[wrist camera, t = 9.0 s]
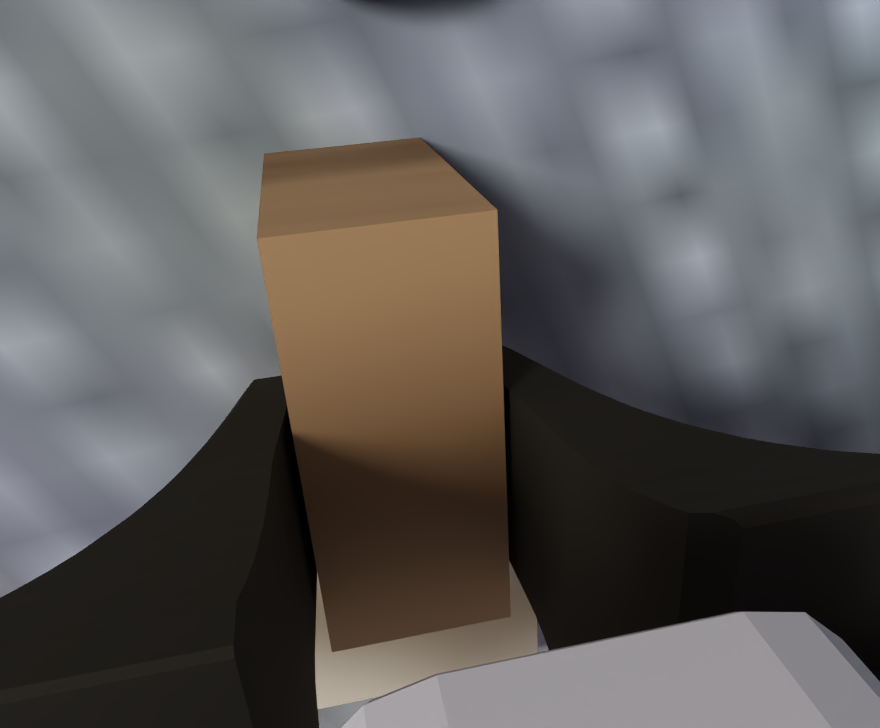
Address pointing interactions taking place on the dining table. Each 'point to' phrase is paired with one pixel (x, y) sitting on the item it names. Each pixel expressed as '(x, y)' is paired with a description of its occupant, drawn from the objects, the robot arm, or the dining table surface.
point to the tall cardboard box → (394, 410)
